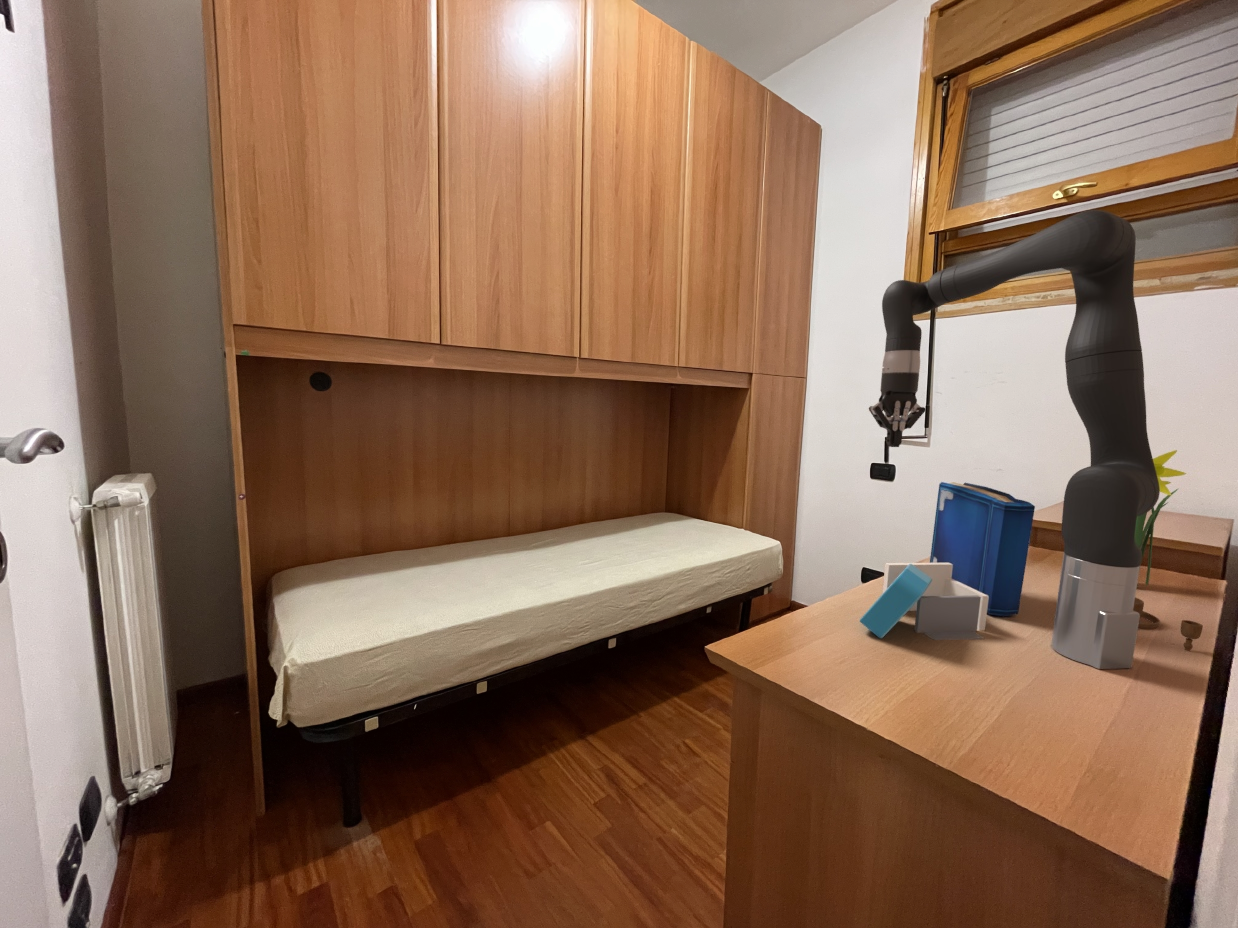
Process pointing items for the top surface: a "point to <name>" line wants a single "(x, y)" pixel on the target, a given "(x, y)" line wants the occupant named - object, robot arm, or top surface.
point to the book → (984, 541)
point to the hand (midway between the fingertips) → (893, 446)
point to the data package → (896, 601)
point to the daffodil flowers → (1150, 523)
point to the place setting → (1187, 627)
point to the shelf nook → (944, 603)
